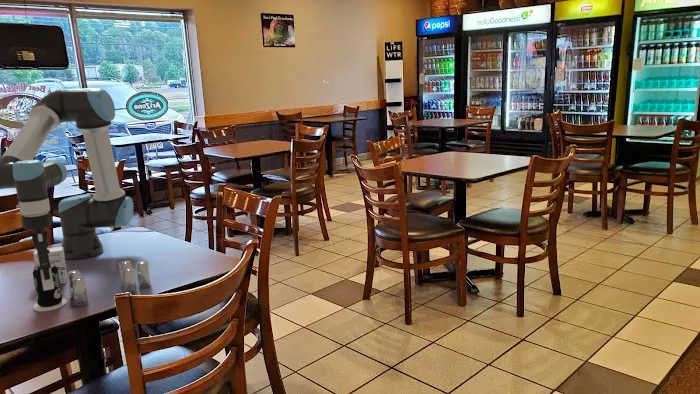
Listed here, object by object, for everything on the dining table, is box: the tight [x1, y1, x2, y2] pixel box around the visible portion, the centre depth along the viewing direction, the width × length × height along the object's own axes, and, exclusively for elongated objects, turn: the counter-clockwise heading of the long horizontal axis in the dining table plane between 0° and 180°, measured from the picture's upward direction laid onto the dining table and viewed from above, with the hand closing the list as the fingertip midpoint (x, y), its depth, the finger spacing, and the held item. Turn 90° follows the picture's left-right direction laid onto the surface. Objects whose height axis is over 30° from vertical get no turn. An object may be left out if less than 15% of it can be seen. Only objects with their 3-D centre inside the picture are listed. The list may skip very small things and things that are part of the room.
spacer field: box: [67, 260, 151, 308], centre depth 163 cm, size 12×23×8 cm, turn 123°
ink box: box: [33, 246, 68, 285], centre depth 173 cm, size 9×5×12 cm, turn 114°
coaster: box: [32, 297, 68, 313], centre depth 156 cm, size 9×9×1 cm
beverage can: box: [32, 263, 63, 307], centre depth 155 cm, size 7×7×12 cm
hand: (47, 282), depth 155 cm, fingers open, 13 cm apart
